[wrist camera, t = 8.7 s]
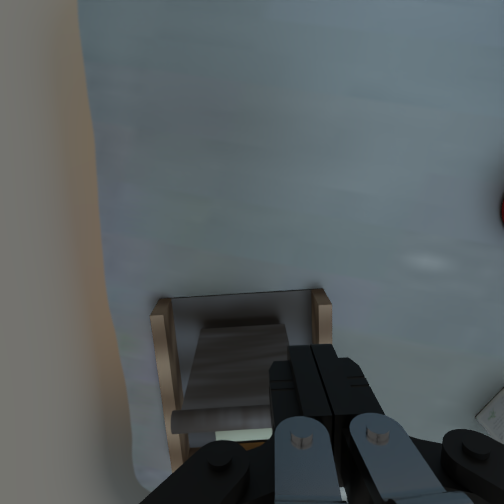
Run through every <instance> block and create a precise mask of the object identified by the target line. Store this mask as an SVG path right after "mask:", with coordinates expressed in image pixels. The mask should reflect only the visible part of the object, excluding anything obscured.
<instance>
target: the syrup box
mask: <svg viewBox="0 0 504 504" xmlns="http://www.w3.org/2000/svg"><path fill="white" fill-rule="evenodd" d="M476 419H477V420H478V422H479V423H480V424H481V425H482V426H483V427H484V428H485V429H486V431H487V432H488V433H489V434H490V435H491V436H492V438H493V439H494V440H496V441H498V442H500V443H502V444H504V389H502V390H501V391H500V392H499V393H498V394H497V395H496V396H495V397H494V398H493V399H492V400H491V401H490V403H489V404H488V405H487V406H486V407H485V408H484V409H483V410H482V411H481V412H480V413H479V414H478V415H477V416H476Z"/></svg>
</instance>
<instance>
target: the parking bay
mask: <svg viewBox="0 0 504 504" xmlns="http://www.w3.org/2000/svg"><path fill="white" fill-rule="evenodd" d="M150 320H151V327H152V334H153V341H154V348H155V355H156V362H157V369H158V376H159V383H160V390H161V397H162V404H163V411H164V419H165V426H166V433H167V440H168V447H169V454H170V461H171V468H172V473H173V472H174V471H176V470H177V469H178V468H179V467H180V466H181V465H182V464H183V463H184V462H185V461H187V460H188V459H189V458H190V457H191V456H192V455H193V454H194V453H195V452H196V451H198V450H199V449H200V448H201V447H202V446H204V445H206V444H208V443H210V442H213V441H216V434H215V432H201V433H185V434H172V433H171V414H172V411H173V410H181V409H182V405H183V400H184V396H185V392H186V388H187V384H188V380H189V376H190V372H191V368H192V364H193V360H194V355H195V351H196V347H197V343H198V339H199V335H200V331H201V329H210V328H226V327H242V326H258V325H274V324H285V328H286V332H287V336H288V340H289V345H310V344H332V304H331V302H330V300H329V298H328V297H327V295H326V293H325V291H324V290H323V289H309V290H292V291H276V292H260V293H244V294H228V295H212V296H196V297H180V298H164V299H159V301H158V303H157V304H156V306H155V308H154V310H153V311H152V313H151V315H150ZM267 440H268V439H263V440H248V441H234V442H236V443H238V444H240V445H241V446H243V447H244V448H245V450H246V451H247V450H250V449H253V448H256V447H258V446H260V445H262V444H264V443H265V442H266V441H267Z"/></svg>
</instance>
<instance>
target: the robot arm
mask: <svg viewBox="0 0 504 504" xmlns="http://www.w3.org/2000/svg"><path fill="white" fill-rule="evenodd" d="M269 401H270V416H271V426H272V435H271V437H270V438H269V439H268V440H267V441H266V442H265V443H264V444H262V445H260V446H258V447H256V448H253V449H250V450H247V451H246V450H245V448H244V447H243V446H241V445H240V444H238V443H236V442H234V441H230V440H217V441H213V442H210V443H208V444H206V445H204V446H202V447H201V448H200V449H199V450H198V451H196V452H195V453H194V454H193V455H192V456H191V457H190V458H189V459H188V460H187V461H185V462H184V463H183V464H182V465H181V466H180V467H179V468H178V469H177V470H176V471H174V472H173V473H172V474H171V475H170V476H169V477H168V478H167V479H166V480H165V481H163V482H162V483H161V484H160V485H159V486H158V487H157V488H156V489H155V490H154V491H153V492H151V493H150V494H149V495H148V496H147V497H146V498H145V499H144V500H143V501H142V502H140V503H139V504H504V444H502V443H500V442H498V441H496V440H494V439H492V438H490V437H488V436H486V435H484V434H482V433H479V432H476V431H472V430H467V429H455V430H451V431H449V432H448V433H446V434H445V436H444V437H443V442H442V444H441V443H436V442H431V441H426V440H421V439H417V438H413V437H410V436H408V434H407V433H406V431H405V430H404V429H403V427H402V426H401V425H400V424H399V423H398V422H397V421H395V420H394V419H392V418H390V417H388V416H386V415H385V414H384V412H383V410H382V408H381V406H380V404H379V402H378V401H377V399H376V397H375V395H374V393H373V391H372V389H371V387H369V384H368V382H367V380H366V378H365V377H364V374H363V372H362V370H361V368H360V367H359V365H357V364H356V363H355V362H354V361H352V360H351V359H350V358H338V357H337V354H336V352H335V350H334V348H333V346H332V344H310V345H290V346H287V360H286V361H273V363H272V365H271V367H270V369H269ZM339 487H344V488H345V491H346V495H347V502H346V501H342V498H341V493H340V488H339Z"/></svg>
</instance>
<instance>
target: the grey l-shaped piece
mask: <svg viewBox="0 0 504 504" xmlns="http://www.w3.org/2000/svg"><path fill="white" fill-rule="evenodd" d="M287 346H290V345H289V340H288V336H287V332H286V328H285V324H274V325H258V326H242V327H226V328H210V329H201V331H200V335H199V339H198V343H197V347H196V351H195V355H194V360H193V364H192V368H191V372H190V376H189V380H188V384H187V388H186V392H185V396H184V400H183V405H182V409H181V410H173V411H172V414H171V433H172V434H185V433H201V432H215V434H216V441H217V440H230V441H248V440H263V439H269V438H270V437H271V435H272V426H271V416H270V401H269V369H270V367H271V365H272V363H273V361H286V360H287Z"/></svg>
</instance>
